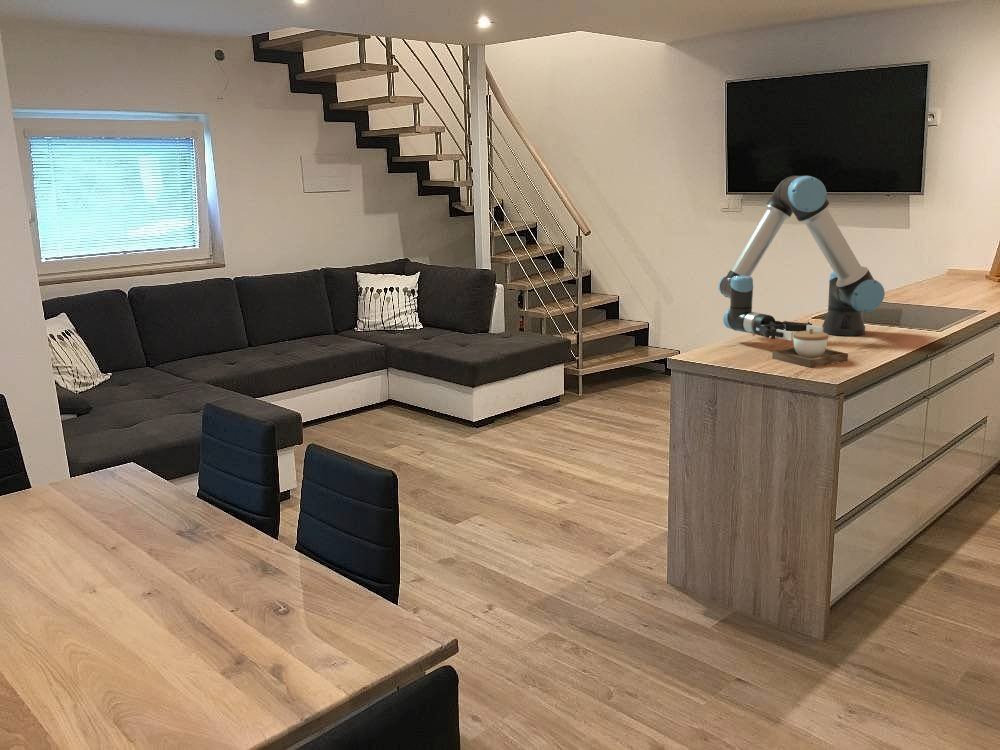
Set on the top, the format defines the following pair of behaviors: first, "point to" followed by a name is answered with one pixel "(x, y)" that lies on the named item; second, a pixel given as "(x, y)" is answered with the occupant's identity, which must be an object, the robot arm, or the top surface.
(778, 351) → the tray
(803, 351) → the lidded jar
